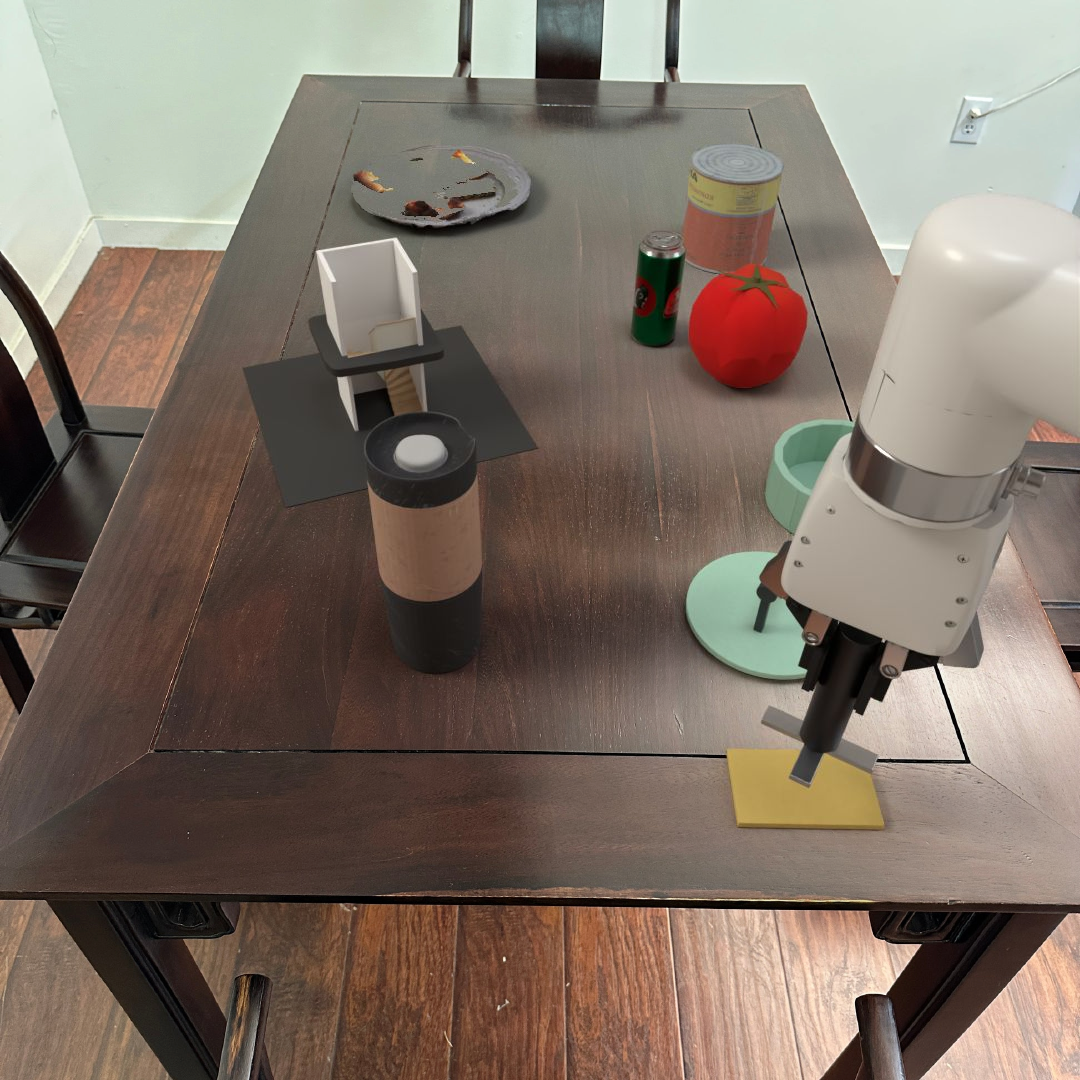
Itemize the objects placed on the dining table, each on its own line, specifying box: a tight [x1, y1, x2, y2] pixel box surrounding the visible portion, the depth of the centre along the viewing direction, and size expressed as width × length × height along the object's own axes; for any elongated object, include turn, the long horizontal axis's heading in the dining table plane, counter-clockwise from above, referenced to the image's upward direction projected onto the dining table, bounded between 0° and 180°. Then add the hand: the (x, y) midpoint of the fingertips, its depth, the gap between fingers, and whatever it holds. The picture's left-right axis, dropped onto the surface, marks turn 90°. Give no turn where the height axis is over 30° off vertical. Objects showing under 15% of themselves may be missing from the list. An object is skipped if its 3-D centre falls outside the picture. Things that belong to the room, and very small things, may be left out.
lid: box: [685, 540, 839, 681], centre depth 78 cm, size 14×14×6 cm
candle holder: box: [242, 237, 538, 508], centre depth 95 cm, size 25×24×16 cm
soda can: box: [630, 229, 686, 347], centre depth 107 cm, size 5×5×12 cm
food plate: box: [352, 144, 532, 229], centre depth 135 cm, size 25×23×4 cm
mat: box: [726, 748, 885, 831], centre depth 68 cm, size 10×6×1 cm, turn 89°
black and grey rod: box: [760, 621, 884, 788], centre depth 60 cm, size 8×8×12 cm
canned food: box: [681, 142, 785, 275], centre depth 121 cm, size 11×11×12 cm
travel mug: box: [364, 411, 483, 674], centre depth 71 cm, size 8×8×20 cm
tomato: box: [687, 264, 808, 389], centre depth 102 cm, size 12×13×12 cm
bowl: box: [764, 418, 856, 536], centre depth 89 cm, size 13×13×5 cm
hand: (839, 685), depth 60 cm, fingers closed on black and grey rod, 2 cm apart
